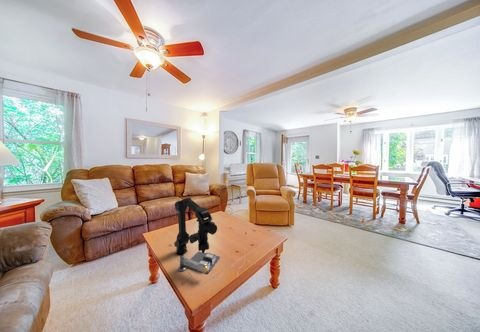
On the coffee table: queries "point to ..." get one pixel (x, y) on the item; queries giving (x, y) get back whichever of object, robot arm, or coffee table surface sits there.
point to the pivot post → (181, 264)
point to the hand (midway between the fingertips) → (203, 252)
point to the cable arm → (195, 265)
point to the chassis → (205, 260)
